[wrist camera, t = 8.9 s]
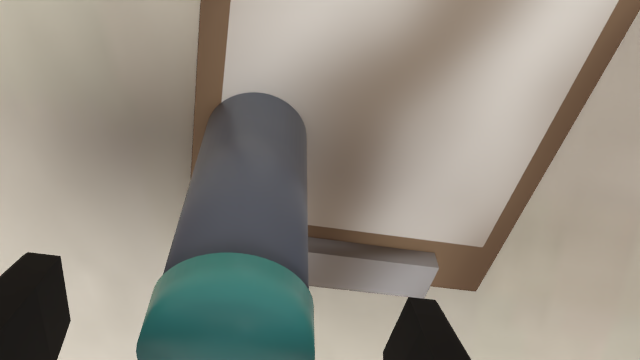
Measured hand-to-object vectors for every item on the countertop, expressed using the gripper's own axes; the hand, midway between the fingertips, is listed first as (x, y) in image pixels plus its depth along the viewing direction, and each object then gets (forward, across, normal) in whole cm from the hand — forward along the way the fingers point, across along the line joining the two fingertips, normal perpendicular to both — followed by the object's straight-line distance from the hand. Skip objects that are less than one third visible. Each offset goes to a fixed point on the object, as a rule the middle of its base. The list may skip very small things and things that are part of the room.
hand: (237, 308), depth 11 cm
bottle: (+7, 0, 0) cm, 7 cm away
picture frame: (+7, -4, -2) cm, 8 cm away
